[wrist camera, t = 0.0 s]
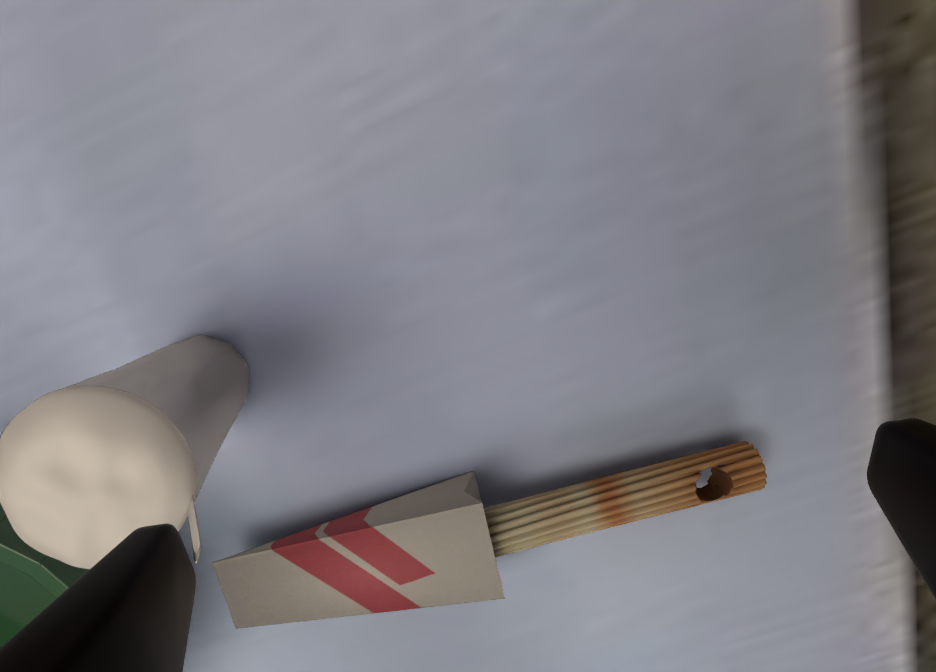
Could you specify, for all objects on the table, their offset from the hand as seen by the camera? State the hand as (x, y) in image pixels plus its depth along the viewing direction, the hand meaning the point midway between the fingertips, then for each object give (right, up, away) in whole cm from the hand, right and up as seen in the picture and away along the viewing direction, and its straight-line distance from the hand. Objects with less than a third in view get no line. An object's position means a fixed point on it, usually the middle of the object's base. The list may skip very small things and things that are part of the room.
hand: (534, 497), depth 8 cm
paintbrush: (0, -5, +17) cm, 18 cm away
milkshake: (-10, 0, +15) cm, 18 cm away
